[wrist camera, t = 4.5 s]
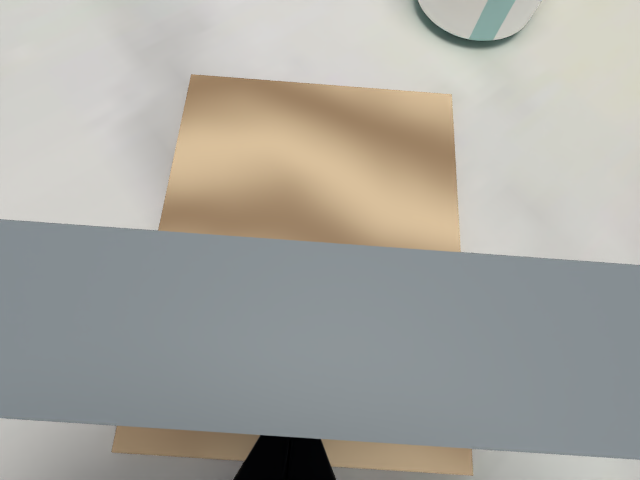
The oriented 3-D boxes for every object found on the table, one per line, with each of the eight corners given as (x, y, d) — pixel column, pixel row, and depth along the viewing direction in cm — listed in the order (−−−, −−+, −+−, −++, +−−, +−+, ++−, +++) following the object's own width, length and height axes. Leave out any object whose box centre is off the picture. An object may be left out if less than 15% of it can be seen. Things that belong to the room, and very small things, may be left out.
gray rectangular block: (422, 408, 16) (713, 464, 5) (174, 392, 16) (-158, 408, 4) (420, 347, 17) (662, 266, 5) (185, 331, 16) (-69, 214, 5)
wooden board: (468, 472, 16) (473, 475, 15) (117, 450, 15) (111, 452, 15) (448, 100, 21) (451, 94, 21) (193, 81, 21) (191, 74, 21)
